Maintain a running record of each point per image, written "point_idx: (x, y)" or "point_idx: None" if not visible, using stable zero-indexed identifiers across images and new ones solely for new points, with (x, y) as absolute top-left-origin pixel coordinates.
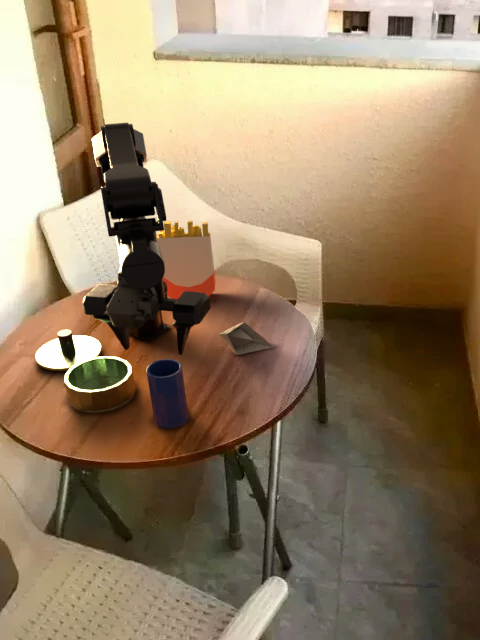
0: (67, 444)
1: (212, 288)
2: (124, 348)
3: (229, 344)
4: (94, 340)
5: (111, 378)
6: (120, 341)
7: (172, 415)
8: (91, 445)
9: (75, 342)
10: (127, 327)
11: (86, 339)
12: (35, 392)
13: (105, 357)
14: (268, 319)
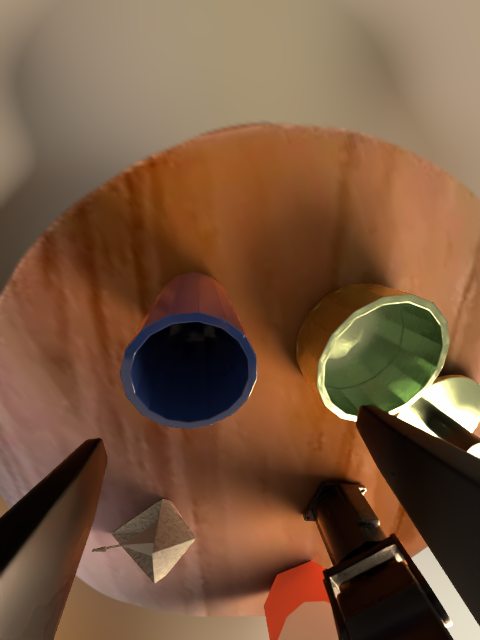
0: (371, 174)
1: (268, 609)
2: (374, 407)
3: (172, 518)
4: None
5: (350, 382)
6: (418, 430)
7: (170, 284)
8: (322, 180)
9: None
10: (427, 533)
11: None
12: (462, 318)
13: None
14: None
